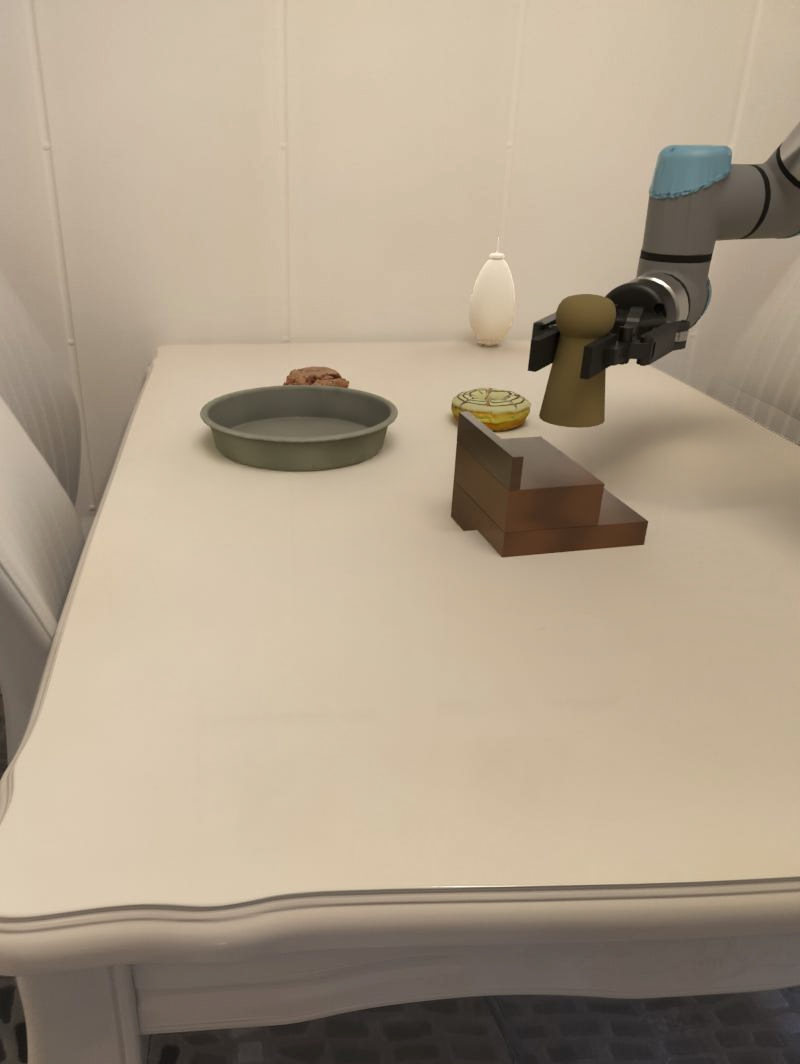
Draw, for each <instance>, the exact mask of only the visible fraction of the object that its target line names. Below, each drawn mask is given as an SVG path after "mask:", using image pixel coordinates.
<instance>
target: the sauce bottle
mask: <svg viewBox="0 0 800 1064" xmlns="http://www.w3.org/2000/svg"><path fill="white" fill-rule="evenodd" d="M488 258H489V259H488V260H487V261H486V262H485V263H484V264H483V266H482V268H481V269H480V271H479V273H478V275H477V277H476V279H475V282H474V285H473V288H472V292H471V295H470V301H469V311H468V316H469V317H468V318H469V319H468V320H469V326H470V328H471V332H472V334H473V337H475V338H476V339H478V342H479V343H481V344H483V346H484V347H494V346H495V345H497V344H499V343H500V341H501V340H503V339H505V338H506V336H507V335H508V334H509V332H510V329H511V328H512V325H513V322H514V319H515V313H516V303H517V301H516V299H517V298H516V287H515V282H514V278H513V275H512V271H511V269H510V266H509V265H508V263H507V261H506V260H505V258H506V255H505V254H504V253H502V252H500V237H499V236H498V237H497V241H496V246H495V252H492V253H490V254H489V255H488Z"/></svg>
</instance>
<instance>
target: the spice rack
mask: <svg viewBox="0 0 800 1064" xmlns="http://www.w3.org/2000/svg"><path fill="white" fill-rule="evenodd" d="M456 431H457V432H456V433H457V434H456V445H455V459H454V472H453V483H452V484H453V485H452V495H451V496H452V497H451V508H450V509H451V510H450V517H451V518H452V520H453V521H454V522H455V523H456V524H457V525H458V527H460V529H461V530H462V531H463V532H470V531H477V532H478V533H479V534H480V535H481V537H483V538H484V540H485V541H486V542H488V544H489V546H491V547H492V548H493V549H494V551H495V552H496V553H497V554H498V555H499V556H500V557H501V558H512V557H513V558H515V557H524V556H534V555H547V554H558V553H568V552H569V553H570V552H580V551H590V550H592V551H593V550H603V549H613V548H624V547H625V548H627V547H635V546H644V545H645V540H646V535H647V531H648V527H649V520H648V519H646V517H645V518H644V516H642V515H641V514H639V512H637V511H636V510H634V509H633V508H631V507H630V506H629V505H628V504H626V503H625V502H624V501H622V500H621V499H619V498H618V497H617V496H615V494H613V493H611V492H610V491H609V490H608V489H606V488H605V486H606V485H605V482H604V481H602V480H601V479H599V478H598V477H596V476H595V475H594V474H592V473H591V472H590V471H588V470H587V469H585V468H584V467H583V466H581V465H580V464H579V463H578V462H576V461H575V460H573V458H571V457H570V456H569V455H567V454H565V453H564V452H562V450H560V449H558V447H556V446H554V445H553V444H552V443H551V442H549V441H548V440H546V439H545V438H544V437H543V436H526V437H513V438H512V437H511V438H502V437H500V436H499V435H498V434H497V433H495V432H494V431H492V430H490V429H489V428H488V427H487V426H485V425H484V424H483V423H482V422H481V421H479V420H478V419H477V418H476V417H474V416H473V415H472V414H471V413H470V412H459V418H458V421H457V430H456Z"/></svg>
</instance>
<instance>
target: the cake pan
mask: <svg viewBox="0 0 800 1064" xmlns="http://www.w3.org/2000/svg"><path fill="white" fill-rule="evenodd" d="M398 414H399V411H398V408H397V406H396V405H395V404H394V403H393V402H392V401H390V400H389V399H387V398H385V397H383V396H380V395H378V394H375V393H371V392H369V391H365V390H361V389H355V388H349V387H348V388H343V387H334V386H320V385H283V384H282V385H271V386H262V387H261V386H260V387H254V388H246V389H242V390H237V391H233V392H230V393H226V394H223V395H221V396H218V397H215V398H213V399H212V400H210V401H208V402H207V403H205V404H204V405H203V406H202V407H201V409H200V412H199V416H200V417H199V418H200V419H201V420H202V422H203V423H204V424H205V425H206V426H208V427H209V428H210V432H211V434H212V435H211V436H212V438H213V441H214V444H215V448H216V450H217V451H218V452H219V453H220V454H221V455H222V456H224V457H225V458H227V459H229V460H231V461H233V462H236V463H239V464H243V465H246V466H249V467H256V468H260V469H268V470H277V471H320V470H321V471H322V470H331V469H337V468H342V467H348V466H351V465H355V464H358V463H361V462H364V461H366V460H368V459H371V458H373V457H374V456H376V455H377V454H378V453H380V451H381V450H382V448H383V446H384V444H385V438H386V435H387V431H388V428H389V426H390V425H392V424H393V423H394V422H395V421H396V419H397V418H398Z"/></svg>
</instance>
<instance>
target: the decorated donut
mask: <svg viewBox="0 0 800 1064" xmlns="http://www.w3.org/2000/svg"><path fill="white" fill-rule="evenodd" d="M531 406H532V403H531V402H530V401H529V400H528V399H527V398H526V397H525V396H523V395H521V394H519V393H518V392H515V391H511V390H504V389H499V388H493V387H480V388H474V389H470V390H465V391H461V392H459V393H457V394H456V395H455V396H453V397H452V400H451V406H450V410H451V412H452V415H453V418H454V420H455V421H457V422H458V418H459V412H470V413H471V414H472V415H473V416H474V417H476V418H477V419H478V420H479V421H481V422H482V423H483V424H484V425H485V426H487V427H488V428H489V429H490V430H492V431H493V432H494V431H499V432H500V431H510V430H512V429H513V428H514V429H515V428H517V427H519V426H521V425H522V424H523V423H524V422H525V421H526V419H527V418H528V416H529V415H530V412H531Z"/></svg>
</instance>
